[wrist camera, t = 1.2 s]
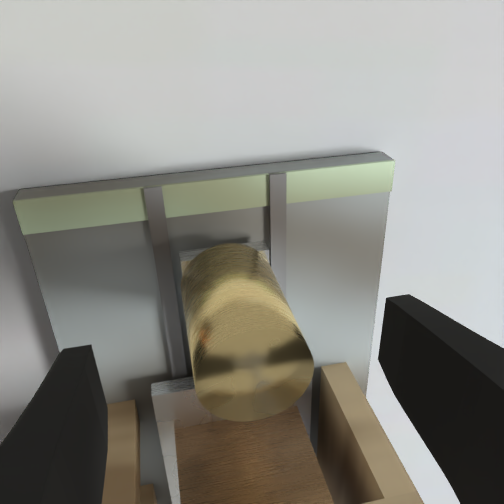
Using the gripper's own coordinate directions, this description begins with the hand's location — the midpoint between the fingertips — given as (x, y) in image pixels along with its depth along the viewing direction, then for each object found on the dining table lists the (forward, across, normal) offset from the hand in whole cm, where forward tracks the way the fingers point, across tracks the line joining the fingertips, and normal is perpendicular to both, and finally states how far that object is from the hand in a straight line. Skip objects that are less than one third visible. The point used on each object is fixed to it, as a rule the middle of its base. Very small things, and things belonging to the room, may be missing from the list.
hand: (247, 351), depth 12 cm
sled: (+4, 0, +5) cm, 7 cm away
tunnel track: (+5, 0, +6) cm, 8 cm away
